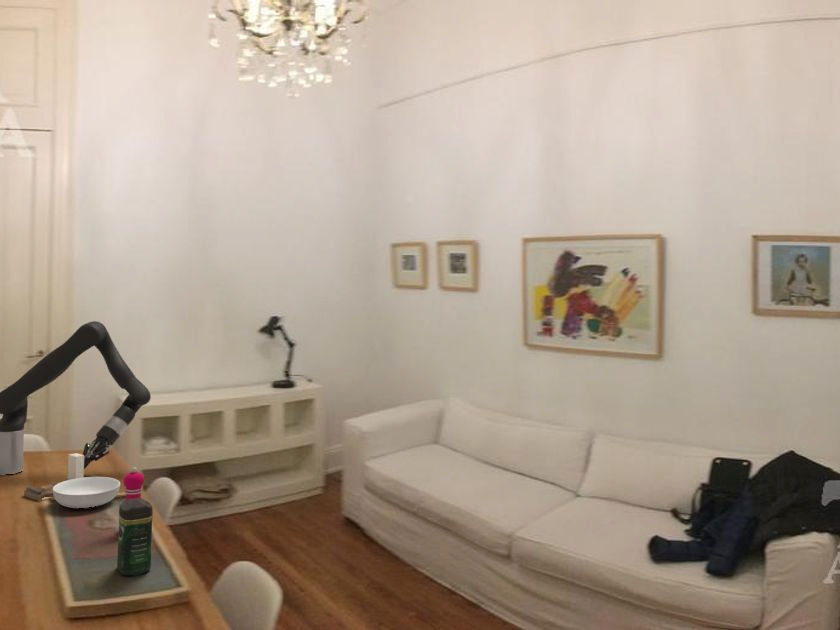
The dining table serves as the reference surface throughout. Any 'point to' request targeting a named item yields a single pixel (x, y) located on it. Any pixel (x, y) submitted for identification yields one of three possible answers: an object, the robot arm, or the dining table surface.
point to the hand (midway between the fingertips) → (81, 467)
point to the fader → (75, 466)
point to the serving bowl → (86, 491)
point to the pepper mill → (133, 484)
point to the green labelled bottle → (134, 536)
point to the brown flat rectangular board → (41, 491)
